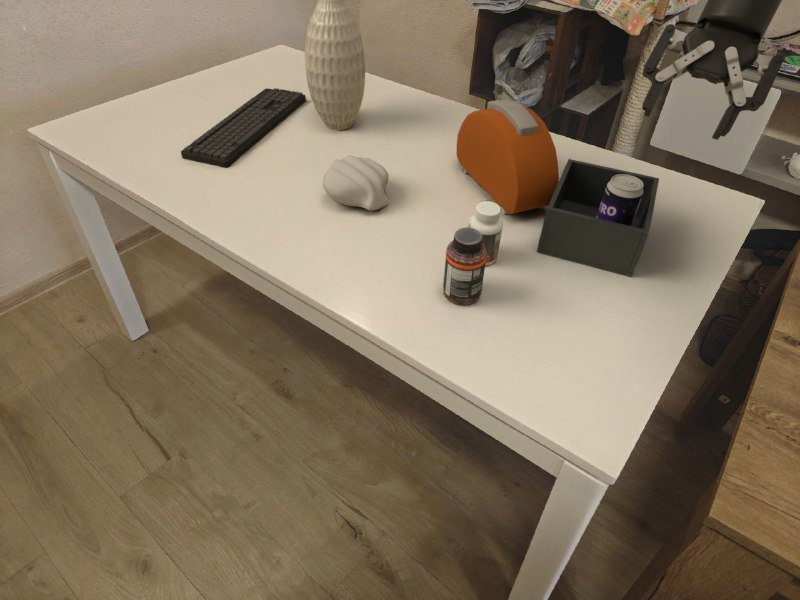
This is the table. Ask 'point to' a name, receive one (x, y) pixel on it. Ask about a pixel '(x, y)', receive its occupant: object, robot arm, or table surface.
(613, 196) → the beverage can
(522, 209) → the alarm clock
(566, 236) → the open storage box
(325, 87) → the vase
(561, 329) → the table surface
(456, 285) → the supplement bottle
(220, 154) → the keyboard
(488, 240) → the pill bottle
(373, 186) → the shell shaped sculpture
